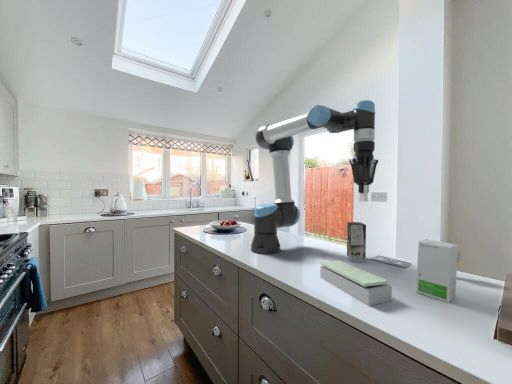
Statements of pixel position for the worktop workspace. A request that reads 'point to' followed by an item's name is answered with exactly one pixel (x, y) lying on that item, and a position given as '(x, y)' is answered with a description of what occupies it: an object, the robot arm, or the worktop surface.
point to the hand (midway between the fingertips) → (363, 201)
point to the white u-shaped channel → (358, 288)
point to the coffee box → (356, 241)
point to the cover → (354, 273)
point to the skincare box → (437, 269)
